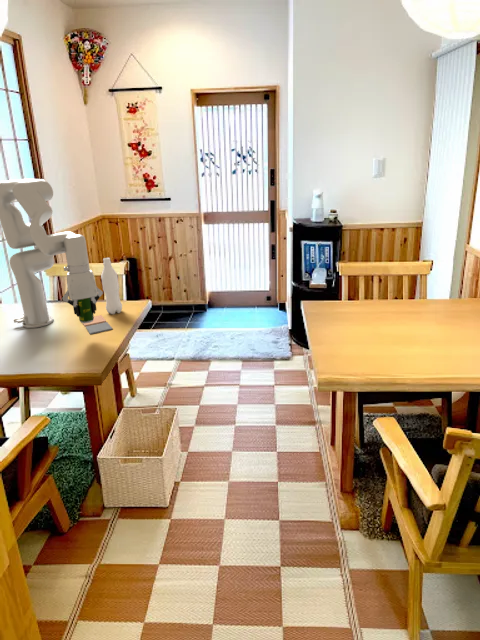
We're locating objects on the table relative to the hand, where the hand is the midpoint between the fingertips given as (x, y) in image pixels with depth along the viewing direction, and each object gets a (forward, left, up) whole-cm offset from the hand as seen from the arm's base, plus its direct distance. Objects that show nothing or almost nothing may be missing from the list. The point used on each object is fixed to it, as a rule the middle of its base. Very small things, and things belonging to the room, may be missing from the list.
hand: (85, 313), depth 179 cm
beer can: (0, 0, -3) cm, 3 cm away
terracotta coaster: (+5, +20, -10) cm, 23 cm away
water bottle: (+16, +26, -11) cm, 33 cm away
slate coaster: (+5, +9, -10) cm, 15 cm away
